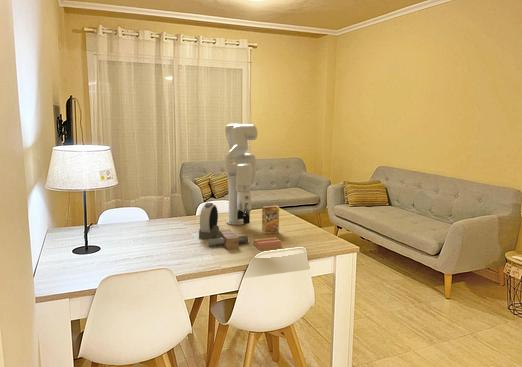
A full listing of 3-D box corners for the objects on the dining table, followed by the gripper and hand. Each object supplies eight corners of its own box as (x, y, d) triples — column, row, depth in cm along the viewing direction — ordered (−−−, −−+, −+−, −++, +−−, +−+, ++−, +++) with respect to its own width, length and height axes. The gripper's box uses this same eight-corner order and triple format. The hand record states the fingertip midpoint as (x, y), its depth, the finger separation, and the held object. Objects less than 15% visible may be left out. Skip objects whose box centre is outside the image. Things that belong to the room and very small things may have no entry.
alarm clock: (213, 240, 210) (213, 207, 207) (195, 239, 212) (194, 205, 209) (222, 232, 226) (222, 200, 222) (205, 230, 227) (205, 199, 224)
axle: (210, 248, 200) (210, 241, 198) (208, 244, 203) (208, 237, 202) (247, 244, 207) (248, 237, 205) (245, 240, 210) (246, 233, 209)
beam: (218, 239, 211) (218, 229, 210) (229, 238, 214) (229, 228, 213) (226, 249, 197) (226, 238, 196) (238, 248, 199) (238, 237, 198)
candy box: (263, 234, 223) (264, 207, 220) (261, 232, 227) (262, 205, 224) (278, 233, 225) (279, 206, 222) (276, 231, 229) (277, 204, 226)
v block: (253, 244, 205) (253, 238, 205) (274, 242, 209) (275, 236, 209) (259, 250, 197) (259, 244, 196) (281, 247, 201) (281, 241, 200)
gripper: (256, 190, 196) (255, 224, 199) (245, 185, 212) (245, 216, 215) (241, 191, 193) (241, 225, 196) (231, 186, 209) (231, 217, 212)
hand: (243, 221), depth 205 cm, fingers open, 9 cm apart
